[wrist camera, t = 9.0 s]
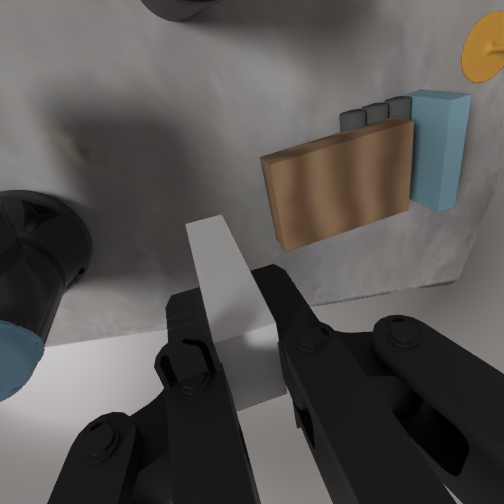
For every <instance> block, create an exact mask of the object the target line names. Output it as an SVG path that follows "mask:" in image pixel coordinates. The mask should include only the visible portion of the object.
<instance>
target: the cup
mask: <svg viewBox="0 0 504 504" xmlns="http://www.w3.org/2000/svg"><path fill="white" fill-rule="evenodd" d="M503 66H504V12H492V13H490V14H489V15H487V16H485V17H483V18H482V19H481V20H480V21H479V22H478V23H477V24H476V26H475V27H474V28H473V29H472V31H471V33H470V35H469V36H468V38H467V40H466V42H465V45H464V49H463V53H462V70H463V72H464V74H465V77H466V78H467V79H468V80H470V81H472V82H473V83H479V82H485V81H487V80H489V79H490V78H492V77H494V76H495V75H496V74H497V73H498V72H499V71H500V70H501V69H502V67H503Z"/></svg>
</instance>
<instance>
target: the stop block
mask: <svg viewBox="0 0 504 504" xmlns="http://www.w3.org/2000/svg"><path fill="white" fill-rule="evenodd" d="M471 95H472V94H464V93H453V92H441V91H430V90H419V91H415V92H412V93H408V94H405V95H404V96H411V97H412V98H411V117H410V120H413V121H414V131H413V147H412V163H411V180H410V196H409V198H410V199H412V200H414V201H416V202H417V203H419V204H421V205H423V206H425V207H427V208H429V209H431V210H433V211H435V212H437V213H439V212H442V211H445V210H447V209H450V208H453V207H455V203H456V196H457V189H458V183H459V176H460V169H461V163H462V156H463V149H464V142H465V136H466V129H467V122H468V115H469V109H470V102H471Z"/></svg>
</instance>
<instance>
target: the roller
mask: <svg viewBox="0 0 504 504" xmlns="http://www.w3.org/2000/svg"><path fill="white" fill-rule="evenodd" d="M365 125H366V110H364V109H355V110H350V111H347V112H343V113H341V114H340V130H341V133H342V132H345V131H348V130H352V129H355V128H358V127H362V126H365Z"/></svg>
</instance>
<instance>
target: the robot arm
mask: <svg viewBox="0 0 504 504" xmlns="http://www.w3.org/2000/svg"><path fill="white" fill-rule="evenodd" d="M185 225H186V229H187V234H188V238H189V242H190V246H191V251H192V255H193V259H194V263H195V267H196V272H197V276H198V280H199V284H200V287H198V288H195V289H191V290H188V291H185V292H181V293H178V294H175V295H171V297H170V299H169V301H168V304H167V306H166V319H167V330H168V343H167V344H166V345H165V346H163V347H162V349H161V350H160V352H159V353H158V355H157V356H156V359H155V365H154V368H155V370H156V372H157V374H158V376H159V378H160V380H161V382H162V384H163V386H164V389H163V391H162V392H161V393H160V394H159V395H158V396H157V397H156V398H155V399H154V400H153V401H152V402H150V403H149V404H148V405H146V406H145V407H143V408H142V409H140V410H139V411H137V412H136V413H134V414H133V415H131V416H128V415H126V414H125V413H122V412H111V413H108V414H105V415H101V416H100V417H98V418H97V419H95V420H94V421H92V422H90V423H89V424H88V425H87V426H86V427H85V428H84V429H83V430H82V431H81V432H80V433H79V434H78V436H77V438H76V439H75V441H74V443H73V444H72V446H71V448H70V450H69V453H68V455H67V458H66V460H65V462H64V465H63V467H62V470H61V472H60V474H59V477H58V479H57V481H56V484H55V486H54V489H53V491H52V493H51V496H50V498H49V501H48V503H47V504H261V502H260V498H259V494H258V490H257V486H256V483H255V479H254V475H253V471H252V467H251V463H250V459H249V456H248V452H247V448H246V444H245V441H244V437H243V433H242V430H241V426H240V423H239V420H238V416H237V411H240V410H243V409H245V408H248V407H251V406H254V405H256V404H259V403H262V402H265V401H267V400H270V399H273V398H276V397H278V396H281V395H284V394H287V388H288V390H289V392H290V395H291V397H292V400H293V406H294V414H295V420H296V425H297V428H300V427H301V428H302V431H303V433H304V436H305V438H306V440H307V443H308V445H309V448H310V450H311V452H312V455H313V457H314V460H315V462H316V464H317V466H318V469H319V471H320V474H321V476H322V478H323V481H324V483H325V486H326V488H327V490H328V493H329V495H330V498H331V500H332V502H333V504H457V503H456V502H455V500H454V499H453V498H452V496H451V495H450V493H449V492H448V490H447V489H446V488H445V486H446V487H447V488H449V490H450V491H451V492H452V493H453V494H454V495H455V496H456V497H457V498H458V499H459V500H460V501H461V502H462V503H463V504H504V374H503V373H501V372H500V371H498V370H497V369H495V368H494V367H492V366H491V365H489V364H487V363H486V362H484V361H483V360H481V359H479V358H478V357H476V356H475V355H473V354H472V353H470V352H469V351H467V350H465V349H464V348H462V347H461V346H459V345H458V344H456V343H455V342H453V341H451V340H450V339H448V338H447V337H445V336H444V335H442V334H440V333H439V332H437V331H436V330H434V329H433V328H431V327H429V326H428V325H426V324H425V323H423V322H421V321H419V320H417V319H415V318H413V317H409V316H404V315H391V316H387V317H384V318H382V319H380V320H379V321H378V322H377V323H376V324H375V325H374V329H373V332H358V333H357V332H356V333H345V332H339V331H335V330H333V329H332V328H331V327H330V326H329V325H327V324H325V323H322V322H320V321H319V320H318V319H317V317H316V316H315V314H314V313H313V311H312V310H311V308H310V307H309V305H308V304H307V302H306V301H305V299H304V298H303V296H302V295H301V293H300V292H299V290H297V287H296V286H295V284H294V283H293V282H292V280H291V278H290V277H289V275H288V274H287V272H286V271H285V270H284V269H282V268H280V267H278V266H277V265H275V264H272V265H269V266H265V267H262V268H258V269H255V270H252V271H250V270H249V268H248V266H247V264H246V262H245V260H244V258H243V256H242V254H241V252H240V250H239V248H238V246H237V244H236V242H235V240H234V238H233V236H232V234H231V232H230V230H229V228H228V226H227V224H226V222H225V220H224V218H223V216H222V214H221V215H217V216H213V217H210V218H206V219H202V220H198V221H195V222H191V223H187V224H185ZM91 255H92V241H91V237H90V234H89V231H88V229H87V227H86V226H85V224H84V223H83V221H82V220H81V219H80V217H79V216H78V215H77V214H76V213H75V212H74V211H72V210H71V209H70V208H69V207H67V206H66V205H64V204H63V203H61V202H59V201H57V200H55V199H53V198H51V197H49V196H46V195H43V194H39V193H35V192H30V191H21V190H11V191H2V192H0V402H1V401H3V400H5V399H7V398H9V397H11V396H12V395H14V394H15V393H16V392H18V391H19V390H20V389H21V388H22V387H23V385H25V384H26V383H27V381H28V380H29V379H30V377H31V376H32V374H33V371H34V369H35V368H36V366H37V364H38V362H39V361H40V360H41V358H42V356H43V353H44V350H45V349H44V347H45V343H46V340H47V337H48V335H49V332H50V329H51V326H52V323H53V321H54V318H55V315H56V312H57V310H58V307H59V304H60V301H61V298H62V296H63V295H64V294H65V293H66V292H67V291H68V290H69V289H71V288H72V287H73V286H74V285H75V284H77V283H78V282H79V280H80V279H81V278H82V277H83V275H84V274H85V272H86V270H87V268H88V265H89V262H90V259H91ZM286 386H287V388H286ZM443 484H444V485H445V486H444V485H443Z"/></svg>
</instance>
